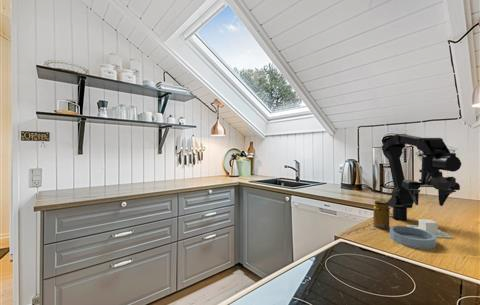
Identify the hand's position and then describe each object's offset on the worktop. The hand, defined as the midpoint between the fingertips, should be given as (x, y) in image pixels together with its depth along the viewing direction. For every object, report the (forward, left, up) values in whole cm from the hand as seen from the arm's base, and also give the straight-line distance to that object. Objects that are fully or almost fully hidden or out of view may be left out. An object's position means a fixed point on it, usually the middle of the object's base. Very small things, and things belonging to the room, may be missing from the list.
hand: (428, 205), depth 94 cm
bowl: (+9, -12, -12) cm, 19 cm away
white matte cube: (-1, 0, -11) cm, 11 cm away
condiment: (-4, -16, -12) cm, 20 cm away
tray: (-1, 0, -12) cm, 12 cm away
